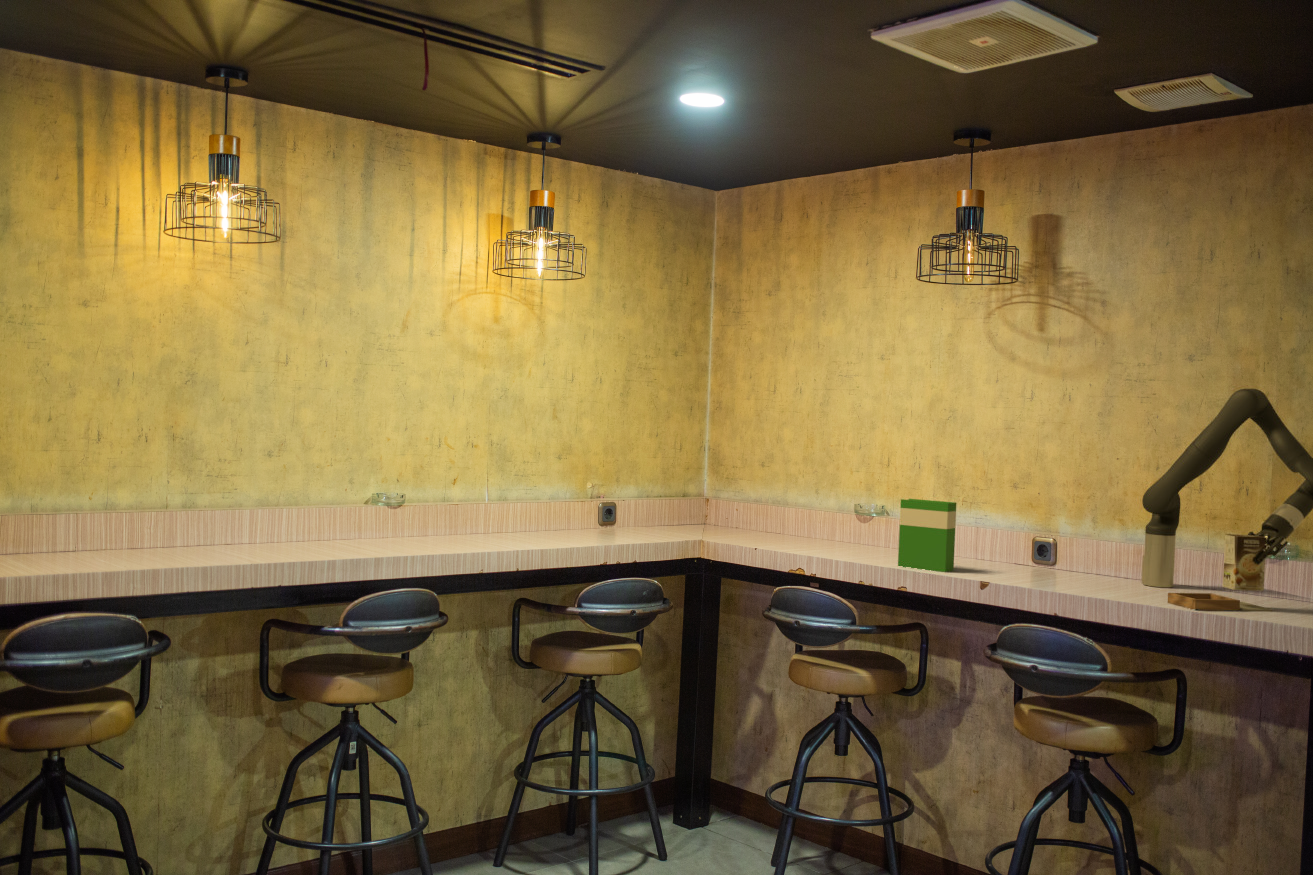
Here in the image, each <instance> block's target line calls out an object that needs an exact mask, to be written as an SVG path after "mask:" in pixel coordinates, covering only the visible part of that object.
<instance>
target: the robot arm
mask: <svg viewBox="0 0 1313 875" xmlns="http://www.w3.org/2000/svg"><path fill="white" fill-rule="evenodd" d="M1249 419H1251V421H1253V422H1254V423H1255V424H1256V425H1257V426H1258V427H1259V428H1260V429H1261V430H1262V432H1263V433H1264V435H1265V436H1266V438H1267V439H1268V441H1269V442H1268V443H1269V444H1270V445H1271V447H1272V449H1273V451H1274V453H1275V454H1276V456H1277V457H1278V458H1279V459H1280V461H1282V463H1283V464H1284V465H1285V466H1286V467H1287V468H1288V470H1290V471H1291V472H1292V473H1294V474H1295V473H1297V474H1298V473H1299V474H1300V475H1301V476H1302V477H1303V478H1304V481H1302V483H1301V484H1300V485H1299V487H1297V488H1296V490H1295V491H1294V492H1293V493H1291V495H1289V496H1288V498H1286V500H1284V502H1283V503H1282V504H1280V505H1279V506H1278V507H1277V508H1276V509H1274V511H1273V512H1272V513H1271V514H1270V515H1269V516H1268V517H1267V518H1266V519H1265V520H1264V522H1263V523H1261V530H1260V531H1259V532H1257V533H1254V532H1253V531H1250V532H1248V534H1247V535H1255V536H1262V537H1266V543H1265V546H1264V547H1263V548H1262V551H1260V552H1259V553H1258V554H1257V555H1256V556H1255V557H1254V558H1253V561H1254V563H1255V564H1257V565H1259V564H1260V563H1261V562H1262V561H1263V560H1264V559H1265V560H1266V558H1268V557H1270V556H1273V557H1276V555H1278V554H1279V553H1280V552H1281V550H1283V548H1285V546H1287V544H1288V543H1289V542H1288V541H1287V539H1288V538H1289V536H1291V535H1292V534H1293V532H1294V531H1295V530H1296V529H1297V528H1298V527H1299V526H1300V525H1301V523H1302V522H1303V521H1304V519H1305V518H1307V516H1308V515H1309V514H1310V513H1311V512H1312V510H1313V457H1312V455H1311V454H1310V453H1309V452H1308V451H1307V450H1306V449H1305V447H1304V446H1303V445H1302V444H1301V442H1299V441H1298V439H1297V438H1296V437H1295V436H1294V435H1293V433H1292V432H1291V431H1290V430H1289V429H1288V427H1287V426H1286V425H1285V423H1284V422H1283V420H1282V419H1281V418H1280V415H1278V413H1277V411H1276V410H1275V408H1274V406H1273V404H1272V403H1271V401H1270V400H1269V398H1268V397H1267V395H1266V394H1265V393H1264V392H1263V391H1262V390H1260V389H1257V388H1240V389H1238V390H1236V391H1234V392H1233V394H1231V395H1230V397H1229V398H1228V400H1227V401H1226V402H1225V404H1224V405H1223V407H1222V408H1221V409H1220V411H1219V412H1218V413H1217V415H1216V416H1215V417H1214V419H1213V420H1212V421H1211V422H1210V423H1209V424H1208V425H1207V426H1206V427H1205V428H1203V430H1202V431H1201V432H1200V433H1199V434H1198V435H1197V436H1196V437H1195V439H1193V441H1191V442H1190V444H1189V445H1188V446H1187V447H1186V448H1185V450H1184V451H1183V452H1182V453H1181V455H1180V456H1179V457H1178V458H1177V459H1176V460H1175V461H1174V462H1173V464H1171V466H1170V468H1169V469H1167V471H1166V472H1165V473H1164V474H1163V475H1162V476H1161V477H1160V478H1159V479H1157V481H1155V482H1154V483H1153V484H1151V486H1150V487H1148V488H1147V489H1146V490H1145V492H1144V494H1143V497H1142V500H1141V501H1142V507H1143V509H1144V510H1145V511H1146V512H1148V513H1150V514H1151V519H1150V521H1149V522H1148V523H1147V524H1146V525H1145V531H1144V532H1145V533H1144V534H1145V535H1144V550H1143V552H1144V554H1143V555H1142V561H1141V562H1142V563H1141V565H1142V566H1141V584H1142V585H1144V586H1149V587H1155V588H1173V587H1174V577H1175V576H1174V575H1175V558H1176V556H1175V555H1176V537H1177V536H1176V533H1177V530H1178V527H1179V525H1180V516H1181V514H1180V513H1181V497H1180V493H1179V492H1180V491H1182V489H1184V487H1185V486H1187V485H1188V484H1189V483H1191V482H1193V481H1194V480H1195V479H1197V478H1198V477H1200V476H1202V475H1203V474H1204V473H1206V472H1207V471H1208V470H1209V469H1210V468H1211V467H1212V466H1213V465H1215V463H1216V462H1217V461H1218V460H1219V459H1220V457H1221V456H1222V455H1223V453H1224V452H1225V450H1226V449H1227V446H1228V443H1229V442H1230V440H1231V437H1233V435H1234V434H1235V432H1236V431H1237V430H1238V429H1239V428H1240V427H1241V426H1242V425H1243V424H1244V423H1245V422H1246V421H1248V420H1249ZM1275 548H1276V549H1275Z"/></svg>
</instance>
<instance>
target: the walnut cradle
mask: <svg viewBox="0 0 1313 875" xmlns="http://www.w3.org/2000/svg"><path fill="white" fill-rule="evenodd" d="M1240 602H1241V600H1239V599H1236V598H1232V597H1227V596H1223V595H1220V594H1216V593H1209V592H1207V593H1206V592H1203V593H1202V592H1201V593H1200V592H1168V593H1167V604H1171V605H1175V606H1178V607H1181V606H1183V607H1182V608H1185V607H1187V608H1186V609H1189V608H1190V609H1189V610H1192V609H1199V610H1198V611H1224V610H1239V611H1241V610H1240Z"/></svg>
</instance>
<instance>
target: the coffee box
mask: <svg viewBox="0 0 1313 875" xmlns="http://www.w3.org/2000/svg"><path fill="white" fill-rule="evenodd" d="M1224 538H1225V539H1224V556H1223V559H1224V560H1223V574H1222V576H1223V577H1222V587H1223V588H1225V589H1229V590H1232V591H1233V590H1234V591H1251V592H1252V591H1253V592H1264V591H1265V573H1266V572H1265V570H1266V569H1265V568H1266V558H1265V559H1264V560H1263V561H1262V562H1261V563H1260V564H1259V565H1257V564H1255V563H1254V561H1253V558H1254V557H1255V556H1256V555H1257V554H1258V553H1259V552H1260V551H1262V548H1263V547H1264V546H1265V543H1266V537H1262V536H1255V535H1248V534H1230V533H1225V537H1224Z"/></svg>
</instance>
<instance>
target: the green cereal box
mask: <svg viewBox="0 0 1313 875" xmlns="http://www.w3.org/2000/svg"><path fill="white" fill-rule="evenodd" d="M899 508H900V509H899V531H898V532H899V534H898V558H897V567H898V566H903V567H902V568H906V567H911V568H910V569H914V568H917V569H916V570H922V569H925V570H924V571H930V570H931V572H940V573H949V572H953V571H954V569H955V568H954V566H955V548H956V547H955V546H956V545H955V544H956V543H955V542H956V523H957V522H956V521H957V502H955V501H954V502H953V501H943V500H942V501H940V500H929V499H918V498H917V499H916V498H908V499H903V498H902V499H901V498H900V506H899Z"/></svg>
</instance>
